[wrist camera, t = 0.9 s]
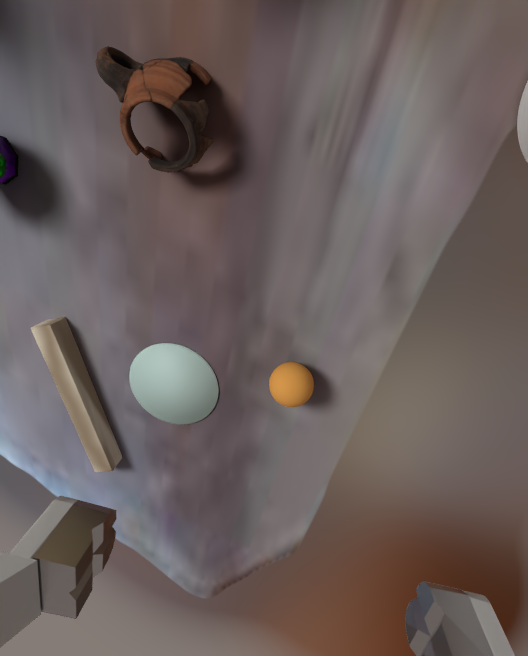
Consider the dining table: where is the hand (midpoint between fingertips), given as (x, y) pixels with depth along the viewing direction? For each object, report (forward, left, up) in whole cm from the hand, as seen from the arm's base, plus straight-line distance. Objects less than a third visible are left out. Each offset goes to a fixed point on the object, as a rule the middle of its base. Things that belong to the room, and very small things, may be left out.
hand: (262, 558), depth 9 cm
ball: (+4, +13, -31) cm, 34 cm away
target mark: (+21, +13, -34) cm, 42 cm away
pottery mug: (+11, -19, -35) cm, 41 cm away
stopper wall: (+35, +13, -34) cm, 50 cm away
